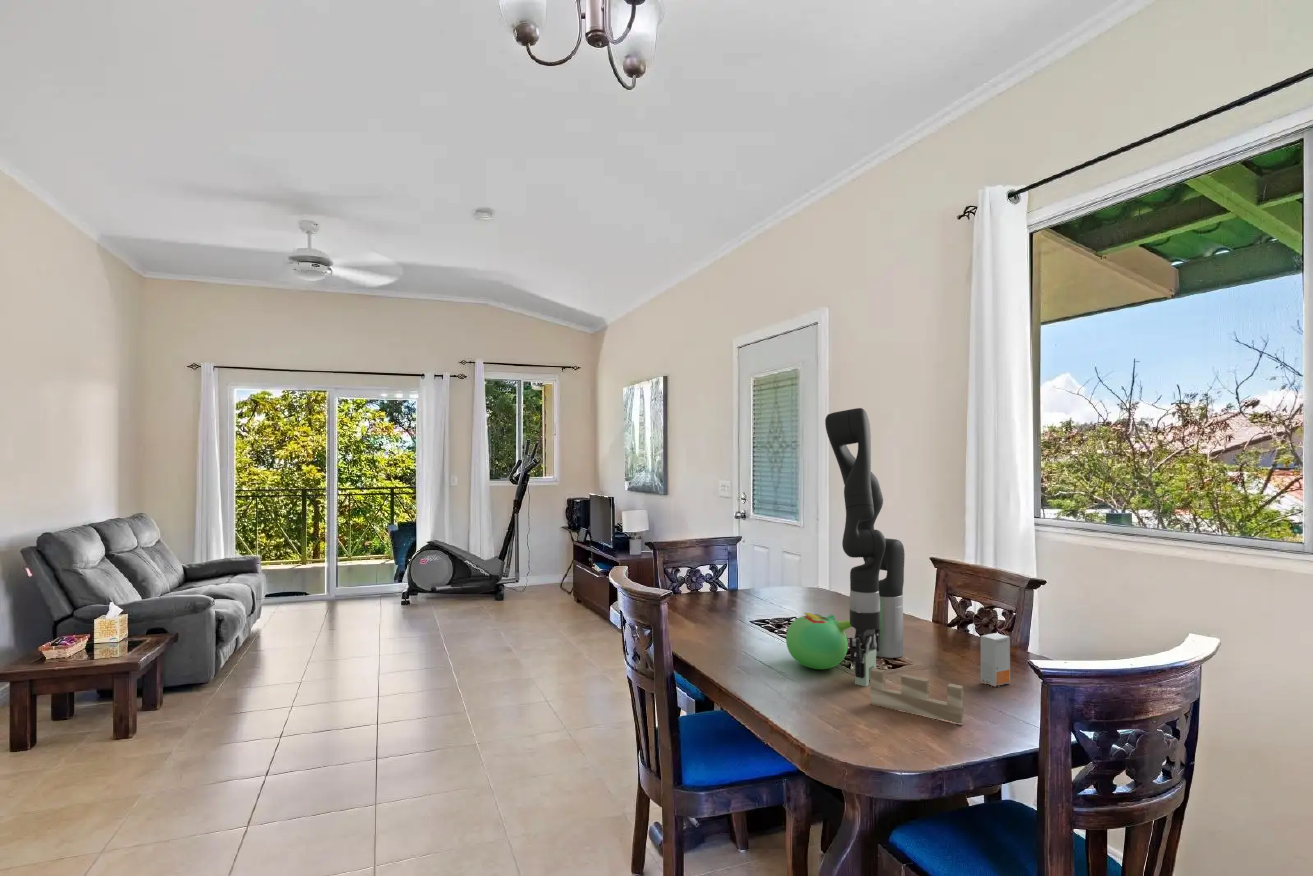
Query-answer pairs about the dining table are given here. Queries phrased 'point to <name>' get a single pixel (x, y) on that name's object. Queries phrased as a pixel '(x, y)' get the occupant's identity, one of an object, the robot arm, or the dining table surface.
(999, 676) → the skincare box
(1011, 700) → the dining table surface
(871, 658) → the notched block
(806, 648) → the toy bird
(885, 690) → the maple board
